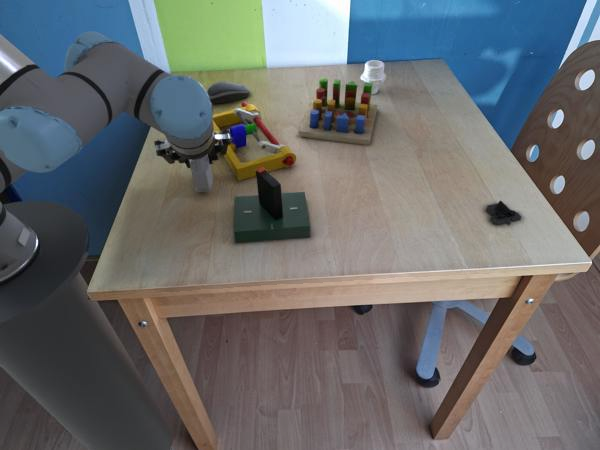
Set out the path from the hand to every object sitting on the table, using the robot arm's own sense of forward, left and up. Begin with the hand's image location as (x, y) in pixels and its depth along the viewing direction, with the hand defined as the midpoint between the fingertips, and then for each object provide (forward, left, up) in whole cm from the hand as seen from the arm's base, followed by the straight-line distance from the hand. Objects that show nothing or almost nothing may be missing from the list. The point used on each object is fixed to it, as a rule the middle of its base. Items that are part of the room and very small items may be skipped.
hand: (199, 159), depth 91 cm
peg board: (+34, +18, -4) cm, 39 cm away
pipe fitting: (+46, +34, -4) cm, 57 cm away
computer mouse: (+5, +36, -4) cm, 37 cm away
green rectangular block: (+15, -17, -4) cm, 23 cm away
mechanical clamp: (+8, +11, -4) cm, 14 cm away
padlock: (+1, -4, -3) cm, 5 cm away
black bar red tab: (+15, -17, -1) cm, 22 cm away
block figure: (+60, -20, -4) cm, 63 cm away
